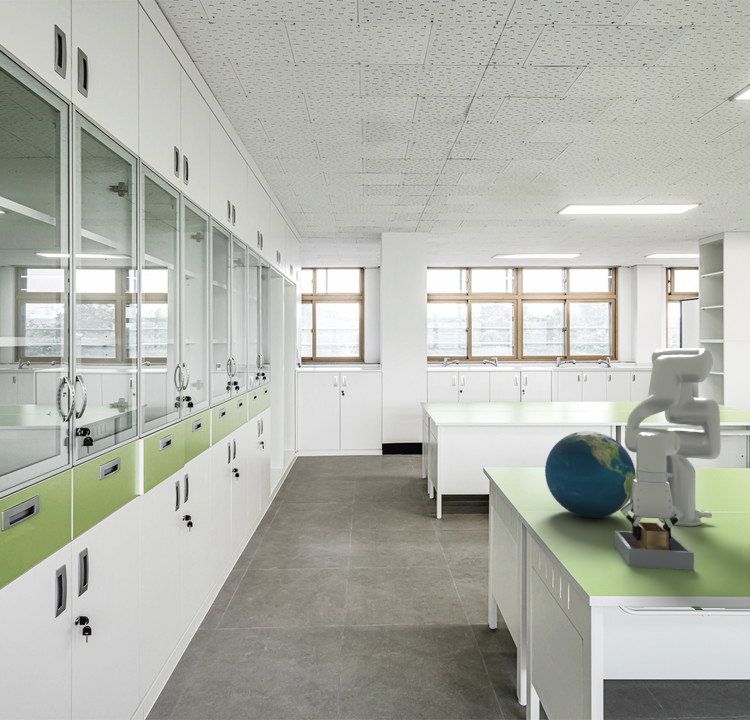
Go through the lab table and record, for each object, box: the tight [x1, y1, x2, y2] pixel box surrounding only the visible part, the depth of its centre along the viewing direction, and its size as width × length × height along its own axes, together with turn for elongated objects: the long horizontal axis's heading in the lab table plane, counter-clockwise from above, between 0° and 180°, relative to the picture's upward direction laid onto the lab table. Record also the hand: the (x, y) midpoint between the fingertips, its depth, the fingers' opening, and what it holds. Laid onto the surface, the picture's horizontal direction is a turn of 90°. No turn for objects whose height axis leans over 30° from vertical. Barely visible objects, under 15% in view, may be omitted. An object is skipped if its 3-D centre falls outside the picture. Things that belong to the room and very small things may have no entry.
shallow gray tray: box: [613, 530, 695, 571], centre depth 151 cm, size 16×16×5 cm
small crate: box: [635, 521, 669, 550], centre depth 151 cm, size 6×9×8 cm, turn 169°
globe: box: [544, 430, 637, 519], centre depth 190 cm, size 30×30×30 cm
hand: (651, 539), depth 151 cm, fingers open, 7 cm apart
